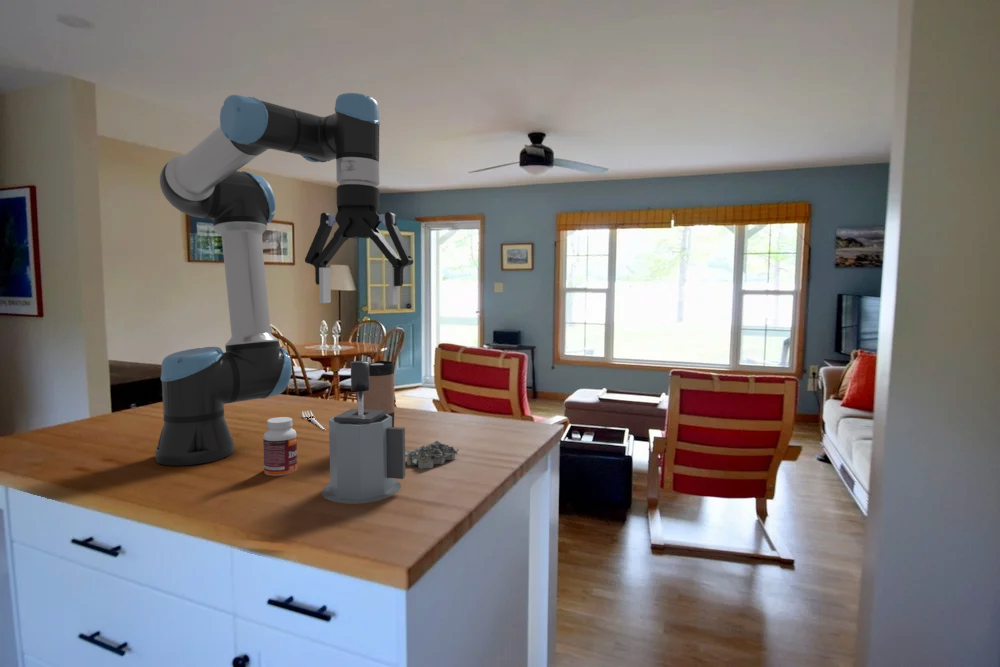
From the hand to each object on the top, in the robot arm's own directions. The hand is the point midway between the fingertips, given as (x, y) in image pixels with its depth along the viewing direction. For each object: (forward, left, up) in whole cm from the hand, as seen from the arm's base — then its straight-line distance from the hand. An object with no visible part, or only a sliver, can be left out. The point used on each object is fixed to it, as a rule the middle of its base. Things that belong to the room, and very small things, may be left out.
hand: (359, 303), depth 100 cm
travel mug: (-6, +22, -34) cm, 41 cm away
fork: (-32, +40, -35) cm, 62 cm away
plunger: (+2, -4, -31) cm, 31 cm away
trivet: (+2, -4, -34) cm, 34 cm away
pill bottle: (-18, +2, -34) cm, 39 cm away
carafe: (+3, -4, -33) cm, 34 cm away
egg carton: (+9, +14, -35) cm, 39 cm away
